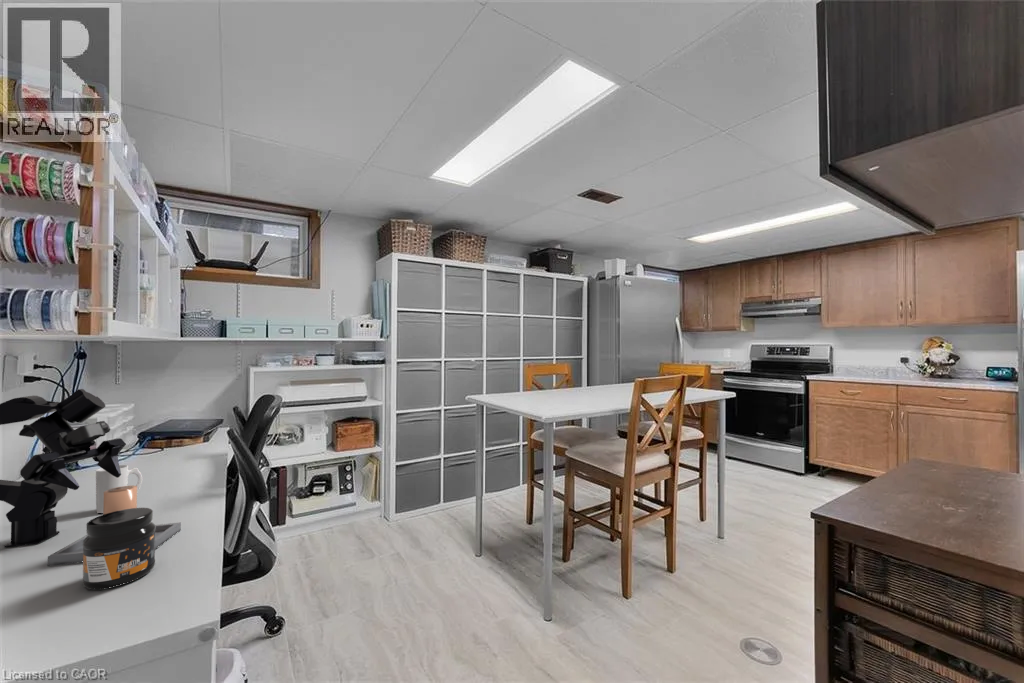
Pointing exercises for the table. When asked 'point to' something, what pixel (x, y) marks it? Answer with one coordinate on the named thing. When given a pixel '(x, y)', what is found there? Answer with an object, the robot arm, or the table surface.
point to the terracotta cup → (120, 499)
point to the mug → (113, 483)
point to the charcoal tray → (75, 549)
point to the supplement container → (118, 548)
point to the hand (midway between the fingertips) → (99, 482)
